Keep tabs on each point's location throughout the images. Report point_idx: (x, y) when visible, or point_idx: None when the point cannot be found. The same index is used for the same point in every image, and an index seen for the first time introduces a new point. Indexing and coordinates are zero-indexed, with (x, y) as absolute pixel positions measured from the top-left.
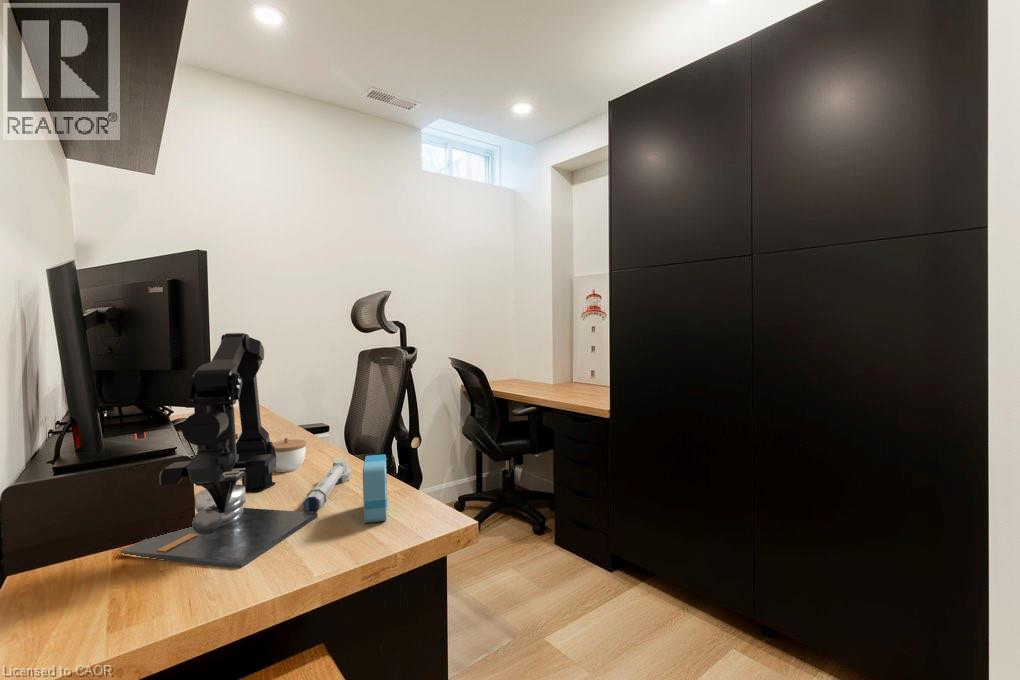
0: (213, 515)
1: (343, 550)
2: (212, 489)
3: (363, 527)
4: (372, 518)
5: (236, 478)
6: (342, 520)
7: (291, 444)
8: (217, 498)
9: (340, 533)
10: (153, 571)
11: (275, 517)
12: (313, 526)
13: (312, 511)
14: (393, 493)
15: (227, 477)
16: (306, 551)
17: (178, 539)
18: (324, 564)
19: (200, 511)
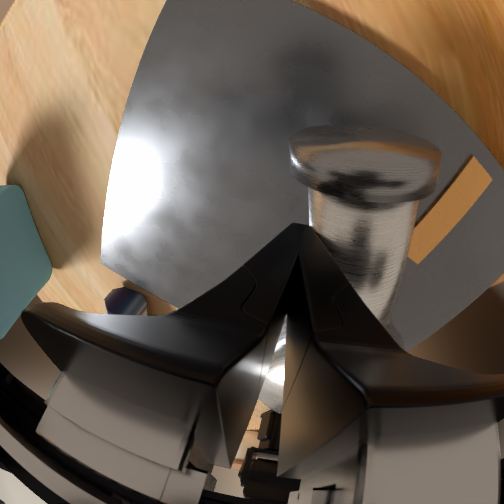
0: (329, 146)
1: (17, 70)
2: (351, 341)
3: (18, 170)
4: (5, 185)
5: (45, 351)
6: (56, 217)
7: (238, 467)
8: (315, 276)
9: (36, 150)
10: (471, 60)
11: (187, 279)
12: (92, 206)
13: (131, 290)
14: (49, 297)
15: (142, 423)
16: (62, 63)
17: (445, 232)
18: (34, 14)
19: (417, 172)
